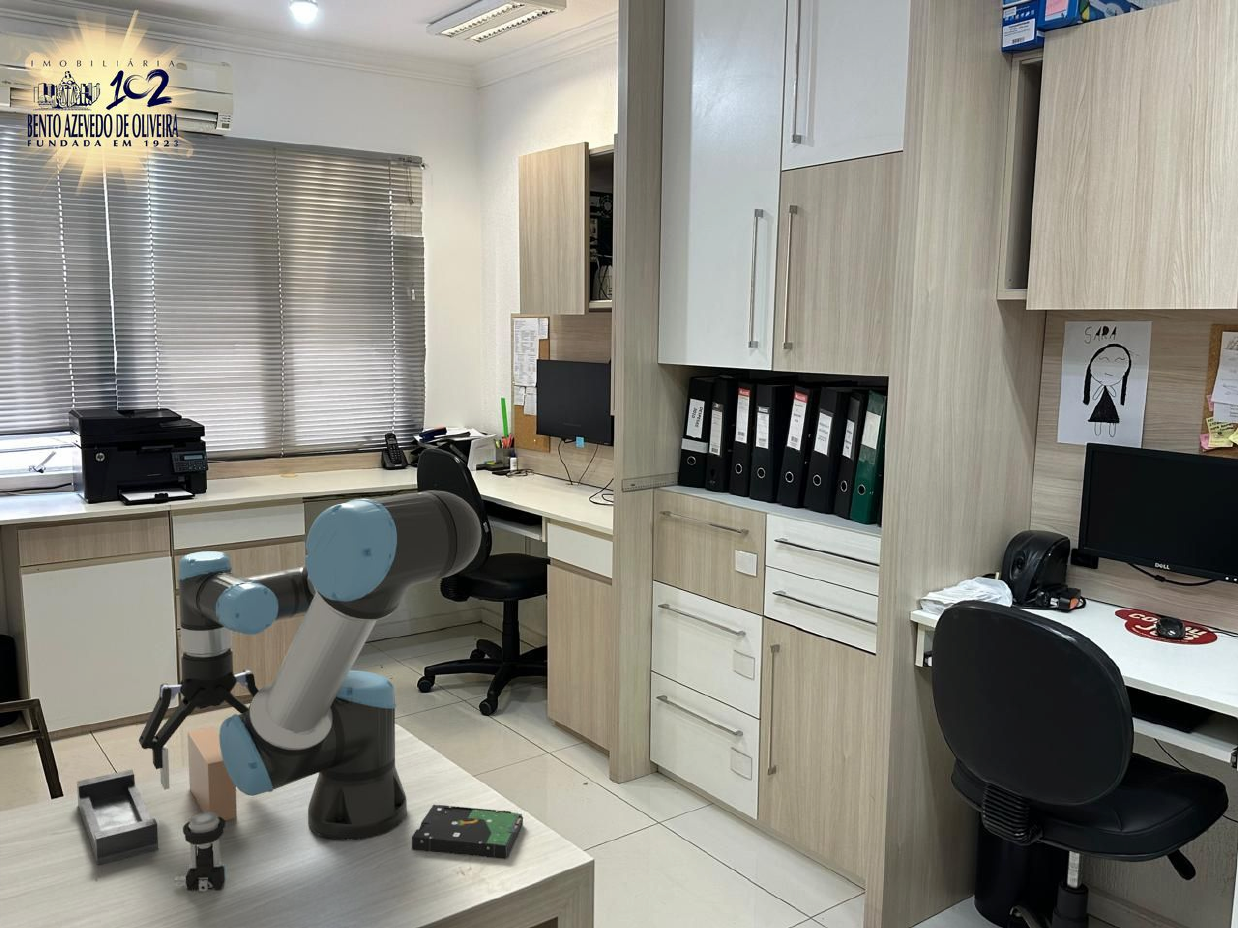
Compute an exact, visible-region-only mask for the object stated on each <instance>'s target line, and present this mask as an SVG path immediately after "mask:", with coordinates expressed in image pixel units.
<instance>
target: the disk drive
mask: <svg viewBox="0 0 1238 928" xmlns="http://www.w3.org/2000/svg"><path fill="white" fill-rule="evenodd" d="M523 826H524V817H523V813H518V812H512V811H509V810H508V811H507V810H496V809H486V808H475V807H474V808H473V807H466V806H465V807H464V806H453V805H452V806H451V805H444V804H443V805H442V804H433V805H432V806H431V808H430V809H429V810H428V812H427V814H426V815H425V816H424V818H423V819H422V821H421V823H420V826H419V828H417V829H416V830H415V831H414V833H413V834H412V836H411V851H419V852H425V853H426V852H429V853H439V854H441V853H442V854H450V855H452V854H453V855H461V856H469V857H470V856H471V857H472V856H473V857H480V858H481V857H482V858H487V859H489V858H491V859H501V860H508V859H509V857H510V853H511V851H513V850H512V849H513V848H514V846H515V843H516V841H517V840H518V837H519V835H520V833H521V830H522V829H523Z"/></svg>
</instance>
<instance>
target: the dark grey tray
mask: <svg viewBox="0 0 1238 928" xmlns="http://www.w3.org/2000/svg"><path fill="white" fill-rule="evenodd" d="M135 779H136V778H135V773H134V770H133V769H128V770H124V771H119V772H114V773H110V774H105V775H102V776H101V775H100V776H97V777H92V778H87V779H84V780H78V781H76V787H77V790H76V791H77V805H78V809H79V812H80V815H81V817H82V820H83V821H82V822H83V825H84V828H85V829H86V833H87V837H88V839H89V843H90V845H91V849H92V851H93V854H94V858H95V862H96V865H97V866H101V865H104V864H108V863H112V862H116V861H120V860H123V859H126V858H131V857H134V856H138V855H142V854H145V853H149V852H152V851H154V852H155V851H156V850H159V833H158V832H159V831H158V823H157V820H156V818H154V817H153V818H152V817H151V815H150V814H149V811H148V809H147V806H146V804H145V802H144V800H143V798H142V796H141V793H140V792H139V791H140V790H139V788H138V787H137V785H136V782H135V781H136V780H135Z"/></svg>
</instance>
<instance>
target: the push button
mask: <svg viewBox="0 0 1238 928" xmlns="http://www.w3.org/2000/svg"><path fill="white" fill-rule="evenodd" d="M225 827H226V821H225V820H224V819H223V818H221V817H218V815H217V814H215V813H213V812H205V813H203V812H201V813H197V814H195V815H193V816H192V817H191V818H190V820H189V821H188V822H186V823H185V824H184V825H183V828H182V833H183V835H184V838H185V841H186V842H188V843H190V859H191V860H190V862H191V863H190V864H189V868H188V871H187V872H186V875H183V876H176V877H175V878H174V881H183V882H176V883H175V885H174V887H175V888H176V887H186V890H187V892H188V891H191V892H192V891H199V892H201V893H202V892H207V891H208V890H215V891H221V890H222V889H223V887H224V885H225V882H226V879H227V878H226V865H225V864H224V863H222V861H221V860H220V838H221V837H222V836H223V835H224V831H225V830H224V829H225Z"/></svg>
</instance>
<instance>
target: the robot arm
mask: <svg viewBox="0 0 1238 928" xmlns="http://www.w3.org/2000/svg"><path fill="white" fill-rule="evenodd" d="M481 540H482V528H481V522H480V519H479V517H478V515H477V513H476V512H475V510H474V509H473V507H472V506H471V505H470V503H468V502H467V501H466V500H464V499H463V498H462V497H460V496H458V495H456V494H455V493H451V492H448V491H443V490H423V491H419V492H418V491H417V492H412V493H411V492H410V493H405V494H397V495H391V496H389V495H388V496H383V497H377V498H357V499H356V498H355V499H351V500H348V501H347V502H344V503H339V504H335V505H332V506H330V507H328V508H327V509H325V510H323V512H321V513H320V514H319V515H318V516H317V517H316V518H315V520H314V522H313V523H312V525H311V527H310V529H309V532H308V534H307V537H306V542H305V549H306V550H307V552H308V553H307V555H305V557H304V558H305V559H304V560H305V564H304V565H302V566H298V567H293V568H288V569H281V570H275V571H271V572H264V573H260V574H255V575H249V576H238V575H236V574H234V573H232V570H233V567H232V566H231V565H232V564H231V559H230V556H229V555H228V554H227V553H225V552H223V551H214V550H211V551H207V550H204V551H196V552H192V553H188V554H185V555H184V556H182V557H181V558H180V559H179V563H178V578H177V583H178V595H179V596H178V599H179V601H178V602H179V618H180V619H179V620H180V621H179V623H180V648H181V649H180V650H181V651H182V653H180V654H181V655H180V656H181V658H180V659H181V680H180V683H179V684H171V685H169V684H168V683H166V682H164V683H162V684H161V685H160V686H159V695H158V696H159V697H158V699H157V701H156V703H155V705H154V708H153V709H152V712H151V713H150V716H149V718H148V720H147V722H146V723H145V726H144V727H143V730H142V732H141V734H140V737H139V739H138V743H139V744H140V747H141V749H142V750H149V749H150V750H151V751H152V764H153V766H154V768H155V769H156V770H159V769H160V770H159V771H160V784H161V786H162V788H163V790H170V766H169V765H170V764H169V760H170V759H169V749H168V746H167V743H168V742H169V740H170V739H171V738H172V737H173V735H174V734H175V732H177V730H178V728H180V726H181V724H183V722H184V721H185V720H186V719H187V717H188V716H189V715H190V714H191V713H192V712H193V711H194V710H196V708H197V709H199V710H203V709H206V708H208V707H217V706H221V704H223V703H224V702H226V703H227V704H229V705H230V707H233V708H234V710H236V711H237V712H238V713H239V714H237V713H234V714H232V715H231V716H229V717H227V718H226V719H224V720H223V721H222V723H221V724H220V728H219V734H218V735H219V742H220V749H221V753H222V758H223V761H224V764H225V767H226V769H227V772H228V774H229V776H230V778H231V780H232V781H233V783H234V784H235V786H236V789H238V790H239V791H240V792H241V793H243V794H245V795H247V796H253V797H254V796H257V795H261V794H264V793H267V792H268V793H271V792H273V790H276V789H279V788H282V787H285V786H287V785H289V784H292V783H294V782H295V783H296V782H298V781H300V780H302V779H305V778H308V777H310V776H312V775H313V776H314V775H316V774H318V776H317V779H316V782H315V785H314V787H313V788H314V789H313V791H312V795H311V798H310V801H309V803H308V809H307V821H308V826H309V828H310V830H311V831H312V832H313V833H314V834H317V835H319V836H321V837H323V838H327V839H330V840H336V841H337V840H338V841H357V840H365V839H370V838H373V837H374V838H375V837H377V836H378V837H379V836H381V835H383V834H386V833H389V832H390V831H392V830H394V829H396V828H397V827H398V826H399V825H400V824H402V822H403V821H404V820H405V819H406V817H407V813H408V812H407V809H408V807H407V806H408V805H407V804H408V801H407V795H406V792H405V790H404V787H403V784H402V782H401V779H400V776H399V774H398V770H397V768H396V724H395V722H396V718H395V715H396V713H395V712H396V708H397V704H396V698H395V688H394V685H393V683H392V681H391V680H390V679H389V678H387V677H386V676H384V675H381V674H378V673H375V672H370V671H366V670H365V671H364V670H352V667H353V665H354V664H355V662H356V660H357V658H358V657H359V655H360V652H361V651H362V649H363V647H364V645H365V643H366V641H367V640H368V638H369V636H370V634H371V632H372V631H373V628H374V627H375V625H376V622H378V621H379V620H383V619H385V618H387V617H389V616H390V615H392V614H393V613H394V612H395V611H396V610H397V608H398V607H399V605H400V603H401V601H402V600H403V598H404V596H405V595H406V593H407V591H408V589H410V588H411V587H412V586H415V585H419V584H423V583H429V582H431V581H436V580H440V579H443V578H448V577H450V576H452V575H455V574H457V573H459V572H460V571H462V570H464V569H465V568H466V567H467V566H468V565H469V564H470V563H471V562H472V561H473V560H474V559H475V557H476V556H477V554H478V551H479V549H480V546H481V542H482V541H481ZM304 614H305V615H304ZM300 615H304V617H303V619H302V621H301V623H300V625H299V628H298V630H297V632H296V634H295V636H294V638H293V640H292V642H291V645H290V646H289V649H287V650H288V651H287V652H286V655H285V656H284V659H283V661H282V663H281V665H280V667H279V668H278V671H277V673H276V676H275V677H274V679H273V682H271V683H268V684H267V685H266V684H265V686H263V687H261V688H260V689H258V688H257V686H256V681H255V680H256V679H255V674H253V672H252V671H251V669H248V668H245V669H243V670H242V672H239V673H237V674H235V673H234V662H233V661H234V660H233V658H234V657H233V648H232V646H233V632H237V633H238V634H240V633H241V634H243V635H248V636H252V635H253V636H254V635H258V634H261V633H263V632H264V631H266V630H267V629H269V627H270V626H272V625H273V624H274V623H275V622H276V621H281V620H285V619H288V618H292V617H295V616H296V617H297V616H300ZM237 683H239V684H240V685H241V687H245V688H246V689H247V691H248V693H249V694H250V696H251V697H252V700H251V702H250V704H249V706H247V705H246V704H245V703H243V702H242V701H241V700H240V699H239V698H238V697H236V696H235V695H234V694H233V693H232V690H233V689H234V687H235V686H236V685H237ZM178 694H181V695H182V696H183V698H181V700H180V701H179V704H178V706H177V708H176V709H175V710H174V711H173V712H172V714H171V715H170V717H168V719H167V720H166V721H165V723H163V725H162V726H161V724H162V722H163V721H164V718H165V715H166V714H167V712H168V710H169V707H170V705H171V701H172V700H174V699H175V698H176V697H177V695H178ZM160 726H161V728H160ZM159 728H160V729H159Z"/></svg>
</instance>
